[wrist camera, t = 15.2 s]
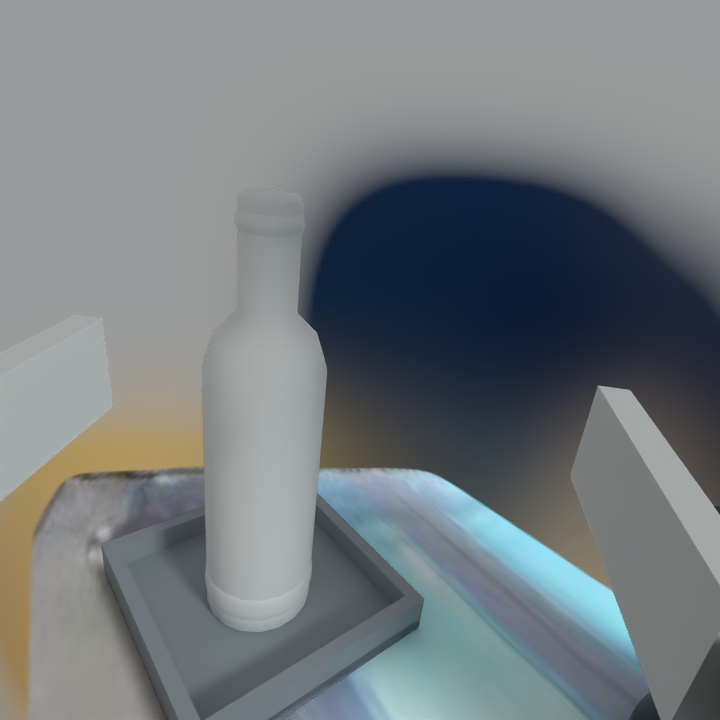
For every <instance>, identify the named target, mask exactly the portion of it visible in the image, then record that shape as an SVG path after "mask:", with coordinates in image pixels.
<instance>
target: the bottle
mask: <svg viewBox="0 0 720 720" xmlns="http://www.w3.org/2000/svg"><path fill="white" fill-rule="evenodd" d="M235 225H236V227H237V311H236V312H234V313H233V314H232V315H231V316H230V317H229V318H227V319H226V320H225V321H224V322H223V323H222V324H220V325H219V326H218V327H217V328H216V329H215V330H214V331H213V334H212V336H211V339H210V342H209V344H208V347H207V350H206V353H205V357H204V360H203V365H202V404H203V445H204V486H205V527H206V570H205V583H206V589H207V600H208V603H209V605H210V608H211V611H212V613H213V614H214V615H215V616H216V617H217V618H218V619H219V620H220V621H221V622H222V623H223V624H224V625H227V626H229V627H231V628H234V629H236V630H239V631H246V632H263V631H267V630H271V629H275V628H279V627H280V626H282V625H283V624H285V623H287V622H288V621H290V620H292V619H293V618H294V617H295V616H296V615H297V614H298V613H299V611H300V610H301V609H302V608H303V606H304V605H305V601H306V598H307V595H308V592H309V583H310V580H311V574H312V560H311V557H312V545H313V533H314V521H315V509H316V497H317V485H318V473H319V461H320V449H321V436H322V425H323V413H324V401H325V388H326V377H327V368H326V364H325V360H324V355H323V352H322V349H321V345H320V342H319V339H318V335H317V333H316V332H315V331H314V330H313V329H312V328H311V327H310V325H309V324H308V323H306V321H305V320H304V319H303V318H302V317H301V316H300V315H299V314H298V313H297V308H298V290H299V289H298V288H299V272H300V254H301V235H302V232H303V230H304V228H305V219H304V216H303V200H302V199H301V197H300V196H299V195H298V194H295V193H291V192H286V191H280V190H270V189H245V190H242V191H241V192H240V193H239V194H238V208H237V210H236V213H235Z"/></svg>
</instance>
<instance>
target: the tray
mask: <svg viewBox="0 0 720 720" xmlns="http://www.w3.org/2000/svg"><path fill="white" fill-rule="evenodd" d="M101 546H102V554H103V561H104V569H105V574H106V576H107V578H108V581H109V583H110V585H111V588H112V590H113V593H114V595H115V597H116V600H117V602H118V604H119V607H120V609H121V611H122V614H123V616H124V619H125V621H126V623H127V626H128V628H129V630H130V633H131V635H132V637H133V640H134V642H135V645H136V647H137V649H138V652H139V654H140V656H141V659H142V661H143V663H144V666H145V668H146V671H147V673H148V675H149V678H150V680H151V682H152V685H153V687H154V689H155V692H156V694H157V697H158V699H159V701H160V704H161V706H162V708H163V711H164V713H165V715H166V718H167V720H282V719H284V718H285V717H286V716H288V715H289V714H291V713H292V712H294V711H295V710H297V709H298V708H300V707H301V706H303V705H304V704H306V703H307V702H309V701H310V700H311V699H313V698H314V697H316V696H317V695H319V694H320V693H322V692H323V691H325V690H326V689H328V688H329V687H331V686H332V685H334V684H335V683H337V682H338V681H339V680H341V679H342V678H344V677H345V676H347V675H348V674H350V673H351V672H353V671H354V670H356V669H357V668H359V667H360V666H362V665H363V664H365V663H366V662H367V661H369V660H370V659H372V658H373V657H375V656H376V655H378V654H379V653H381V652H382V651H384V650H385V649H387V648H388V647H390V646H391V645H393V644H394V643H395V642H397V641H398V640H400V639H401V638H403V637H404V636H406V635H407V634H409V633H410V632H412V631H413V630H415V629H416V628H418V626H419V621H420V617H421V612H422V607H423V602H424V598H423V597H422V596H421V595H420V594H419V593H418V592H417V591H416V590H415V589H414V588H413V587H412V586H410V585H409V584H408V583H407V582H406V581H405V580H404V579H403V578H402V577H401V576H400V575H399V574H398V573H397V572H396V571H395V570H394V569H393V568H392V567H391V566H390V565H389V564H388V563H387V562H386V561H385V560H384V559H383V558H382V557H381V556H380V555H379V554H378V553H377V552H376V551H375V550H374V549H373V548H372V547H371V546H370V545H369V544H368V543H367V542H366V541H365V540H364V539H363V538H362V537H361V536H360V535H359V534H358V533H357V532H356V531H355V530H354V529H353V528H352V527H351V526H350V525H349V524H348V523H347V522H346V521H345V520H344V519H343V518H342V517H341V516H340V515H339V514H338V513H337V512H336V511H335V510H334V509H333V508H332V507H331V506H330V505H329V504H328V503H327V502H326V501H325V500H324V499H323V498H322V497H321V496H320V495H319V494H318V493H317V497H316V509H315V521H314V533H313V545H312V557H311V560H312V574H311V580H310V583H309V592H308V595H307V598H306V601H305V605H304V606H303V608H302V609H301V610H300V611H299V613H298V614H297V615H296V616H295V617H294V618H293V619H292V620H290V621H288V622H287V623H285V624H283V625H282V626H280V627H279V628H275V629H271V630H267V631H263V632H246V631H239V630H236V629H234V628H231V627H229V626H227V625H224V624H223V623H222V622H221V621H220V620H219V619H218V618H217V617H216V616H215V615H214V614H213V613H212V611H211V608H210V605H209V603H208V600H207V589H206V583H205V570H206V527H205V507H202V508H199V509H196V510H193V511H191V512H188V513H185V514H182V515H180V516H177V517H174V518H171V519H169V520H166V521H163V522H160V523H158V524H155V525H152V526H149V527H147V528H144V529H141V530H138V531H136V532H133V533H130V534H127V535H125V536H122V537H119V538H116V539H113V540H111V541H108V542H105V543H102V544H101Z"/></svg>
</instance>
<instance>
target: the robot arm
mask: <svg viewBox="0 0 720 720" xmlns="http://www.w3.org/2000/svg"><path fill="white" fill-rule="evenodd" d="M111 407H113V401H112V393H111V385H110V377H109V369H108V361H107V353H106V346H105V338H104V330H103V322H102V318H99V317H91V316H84V315H77V314H76V315H74V316H72V317H70V318H68V319H66V320H64V321H62V322H60V323H58V324H56V325H54V326H52V327H50V328H48V329H46V330H44V331H42V332H40V333H38V334H36V335H34V336H32V337H30V338H28V339H26V340H24V341H22V342H21V343H19V344H17V345H15V346H13V347H11V348H9V349H7V350H5V351H3V352H1V353H0V502H1V501H2V500H3V499H4V498H5V497H6V496H8V495H9V494H10V493H11V492H12V491H14V490H15V489H16V488H17V487H18V486H19V485H21V484H22V483H23V482H24V481H25V480H26V479H28V478H29V477H30V476H31V475H32V474H34V473H35V472H36V471H37V470H38V469H39V468H41V467H42V466H43V465H44V464H45V463H46V462H48V461H49V460H50V459H51V458H52V457H53V456H55V455H56V454H57V453H58V452H60V451H61V450H62V449H63V448H64V447H65V446H67V445H68V444H69V443H70V442H71V441H72V440H74V439H75V438H76V437H77V436H78V435H80V434H81V433H82V432H83V431H84V430H85V429H87V428H88V427H89V426H90V425H91V424H93V423H94V422H95V421H96V420H97V419H98V418H100V417H101V416H102V415H103V414H104V413H105V412H107V411H108V410H109V409H110V408H111ZM570 477H571V479H572V482H573V485H574V487H575V490H576V493H577V495H578V498H579V501H580V504H581V507H582V509H583V512H584V514H585V517H586V520H587V523H588V525H589V528H590V531H591V533H592V536H593V539H594V542H595V544H596V547H597V549H598V552H599V555H600V558H601V560H602V563H603V566H604V569H605V571H606V574H607V577H608V579H609V582H610V585H611V587H612V590H613V593H614V596H615V598H616V601H617V604H618V606H619V609H620V612H621V614H622V617H623V620H624V622H625V625H626V628H627V631H628V633H629V636H630V639H631V641H632V644H633V647H634V649H635V652H636V655H637V658H638V660H639V663H640V666H641V668H642V671H643V674H644V676H645V679H646V682H647V685H648V687H649V690H650V692H649V693H648V694H647V695H646V696H645V697H644V698H643V699H642V700H641V701H640V702H639V704H638V705H637V706H636V708H635V710H634V711H633V713H632V715H631V717H630V719H629V720H720V507H717V506H713V505H712V503H711V502H710V500H709V499H708V498H707V496H706V495H705V494H704V492H703V491H702V490H701V488H700V487H699V485H698V484H697V483H696V481H695V480H694V478H693V477H692V476H691V474H690V473H689V471H688V470H687V469H686V467H685V466H684V464H683V463H682V462H681V461H680V459H679V457H678V456H677V455H676V453H675V452H674V451H673V449H672V448H671V446H670V445H669V444H668V442H667V441H666V439H665V438H664V437H663V435H662V434H661V433H660V431H659V430H658V428H657V427H656V426H655V424H654V423H653V421H652V420H651V419H650V417H649V416H648V414H647V413H646V412H645V410H644V409H643V407H641V405H640V403H639V402H638V401H637V399H636V398H635V396H634V395H633V394H632V392H631V391H630V390H625V389H618V388H610V387H603V386H598V388H597V391H596V394H595V397H594V401H593V404H592V407H591V410H590V414H589V417H588V420H587V423H586V427H585V430H584V433H583V436H582V439H581V443H580V446H579V449H578V452H577V455H576V459H575V462H574V465H573V468H572V472H571V475H570Z"/></svg>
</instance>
